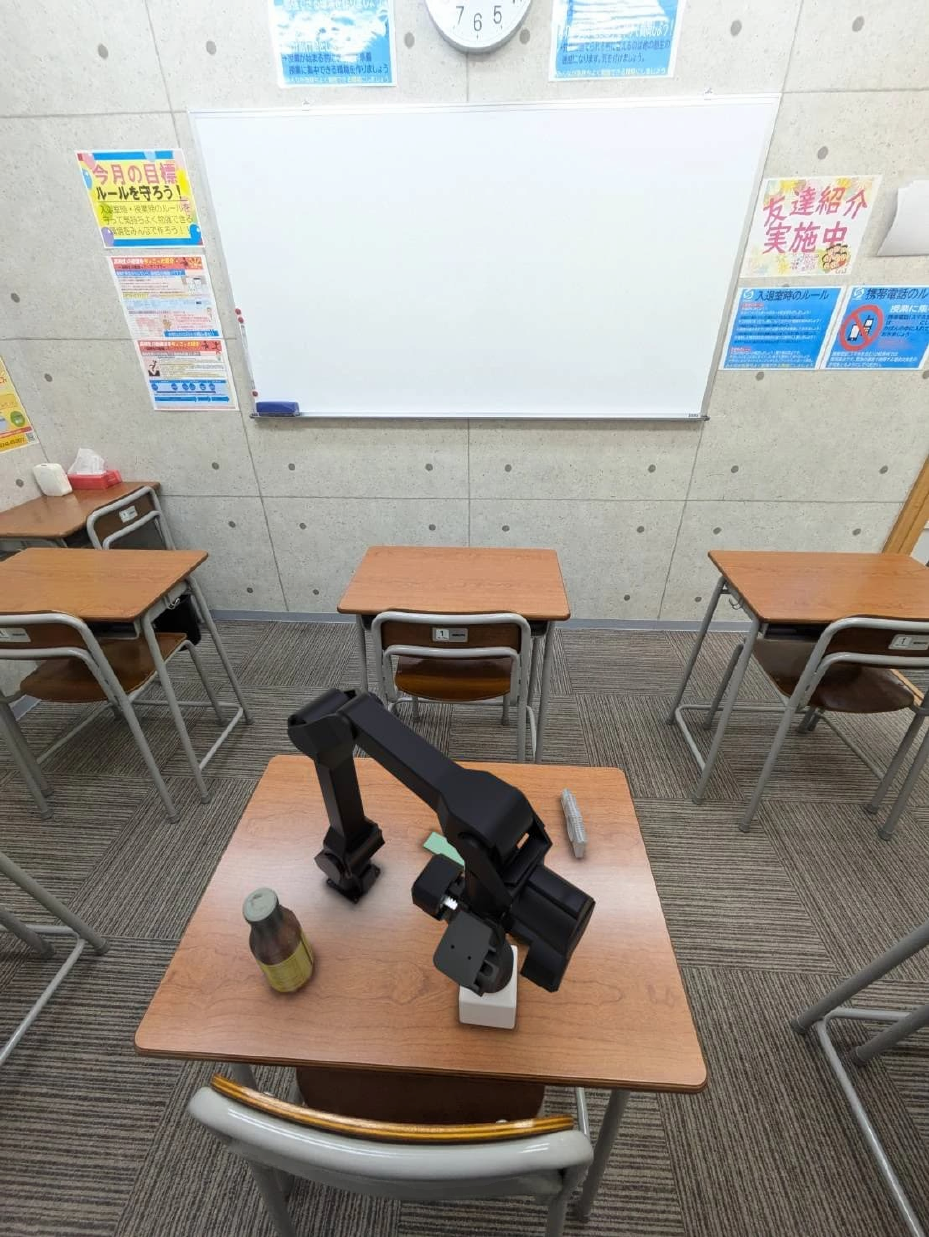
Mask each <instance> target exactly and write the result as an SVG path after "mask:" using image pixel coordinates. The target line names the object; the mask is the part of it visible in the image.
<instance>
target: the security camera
mask: <svg viewBox="0 0 929 1237" xmlns="http://www.w3.org/2000/svg"><path fill="white" fill-rule="evenodd" d="M500 959H501V960H503V961H504V962H506V968H505V971H504V973H503V975H502V978H501V980H500V982H499V985H498V987H497V989H496V991H495V993H493V994H492V993H491V992H489V991H488V990H486V991H485V992H484V994H483V996H482V997H480V996H479V995H477V994H475V993H474V992H472V991H471V990H470V989H467V988H464V987H462V986H460V985H459V994H458V1007H459V1008H458V1009H459V1011H458V1012H459V1022H460V1023H461V1024H468V1025H469V1024H470V1025H478V1026H486V1027H493V1028H502V1029H510V1030H513V1029H514V1028H515V1023H516V1022H515V1021H516V1013H517V1012H516V1011H517V991H518V990H517V988H518V987H517V986H518V947H517V946H516V945H512V944H511V943H510V942H509V940H508V939H507V938H506V941H505V943H504V945H503V947H502V953H501V955H500Z"/></svg>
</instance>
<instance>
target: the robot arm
mask: <svg viewBox="0 0 929 1237" xmlns="http://www.w3.org/2000/svg"><path fill="white" fill-rule="evenodd" d="M286 724H287V730H286V734H287V736H288V739H289V740H290V742H291V743H292V745H293V747H295V748H296V749H297V750H298V751H299V752H301V753H302V754H303V755H305V756H306V757H308V758H309V759H310V760H312V761H313V766H314V769H315V772H316V776H317V781H318V784H319V787H320V792H321V795H322V799H323V803H324V807H325V811H326V816H327V819H328V822H329V827H328V829H327V831H326V833H325V836H324V837H323V840H322V847H323V848H322V849H321V851H319V852H318V853H317V855H315V856H314V857H313V860H314V862H315V863H316V866H317V867H318V869H319V870H320V871H321V872H322V873H323V874H325V875H326V877H328V878H327V879H326V880H325V884H326V886H327V887H329V888H330V889H332V891H333V890H334V892H336V893H337V894H339V895H340V896H342V897H343V898H345V899H346V900H348V901H349V902H350V903H352V904H354V905H355V904H357V903H359V901H360V900H361V899H362V898H363V896H364V895H365V894H367V893H368V891H370V889H371V888H372V886H373V885H374V883H375V882H376V881H377V878H378V876H379V875H380V874H381V872H382V870H381V868H380V867H379V866H377V865H375V864H374V863H372V859H371V858H372V857H374V856H375V854H376V853H377V852H379V850H380V849H382V847H383V846H384V845H385V844H386V842H385V840H384V836H383V830H382V829H381V828H380V827H379V824H378V823H377V822H374V820H372V819H370V818H369V817H367V816H366V815H365V810H364V805H363V800H362V795H361V789H360V784H359V780H358V775H357V768H356V765H355V758H354V754H353V751H354V749H355V747H356V746H357V747H358V748H360V749H361V750H362V751H363V752H364V753H366V754H367V756H369V757H370V758H371V759H372V760H374V761H375V762H376V763H377V764H378V765H380V766H381V767H382V768H383V769H385V770H386V771H387V772H388V773H389V774H391V776H393V777H394V778H395V779H396V780H398V781H399V782H400V783H401V784H402V785H403V786H405V787H406V788H407V789H408V790H409V791H410V792H412V793H413V794H414V795H415V796H416V797H418V798H419V799H420V800H421V801H423V802H424V803H425V804H426V805H427V806H428V807H429V808H430V809H431V810H432V811H433V812H434V813H435V814H436V817H437V820H438V822H439V826H440V830H441V832H442V836H443V837H444V838H446V841H447V843H448V844H450V845H451V846H452V847H454V848H455V849H456V851H457V853H458V854H459V855H460V857H461V858H462V859H463V860H464V866H465V871H464V866H463V865H461V864H460V863H458V862H456V861H454V860H453V859H451V858H449V857H448V856H446V855H444V854H442V853H440V854H435V855H432V856H431V858H430V859H429V860H428V862H427V863H426V865H425V866H424V868H423V869H422V870H421V872H420V873H419V875H418V876H417V877H416V879H415V880H414V882H413V883H412V886H411V889H410V893H411V900H412V904H413V905H414V906H416V907H417V908H419V909H421V911H422V912H423V913H426V915H428V916H430V917H431V918H433V919H434V920H436V921H438V922H441V921H445V923H446V924H447V926H446V929H445V930H444V933H443V935H442V936H441V938H440V941H439V943H438V945H437V946H436V949H435V951H434V953H433V956H432V964H433V966H434V968H435V969H436V970H437V971H439V972H440V973H442V974H443V975H444V976H446V977H447V978H448V979H450V980H451V981H453V982H455V983H456V984H458V985H459V987H460V986H462V987H464V988H467V989H470V990H471V991H472V992H474V993H475V994H477V995H479V996H480V997H482V996H483V994H484V992H485V991H486V990H488V991H489V992H491V993H492V994H493V993H495V991H496V989H497V987H498V985H499V982H500V980H501V978H502V975H503V973H504V971H505V968H506V962H504V961H503V960H501V959H500V955H501V953H502V947H503V945H504V943H505V941H506V939H507V935H509V936H511V937H512V938H513V939H517V940H519V941H520V942H522V943H523V944H522V945H525V946H527V947H528V950H527V952H526V954H525V958H524V960H523V963H522V966H521V968H520V970H519V973H518V974H519V976H520V977H522V978H524V979H527V980H528V981H529V982H531V983H532V984H534V985H536V986H537V987H539V988H542V989H544V990H545V991H546V992H548V993H550V994H552V993H556V992H558V991H559V989H560V986H561V984H562V982H563V979H564V977H565V974H566V973H567V972H566V971H567V969H568V966H569V964H570V962H571V959H572V956H573V954H574V952H575V950H576V949H577V947H578V946H579V944H580V942H581V940H582V938H583V935H584V934H585V932H586V930H587V928H588V925H589V923H590V920H591V918H592V916H593V913H594V911H595V907H596V905H597V901H595V898H594V897H592V895H590V894H588V893H586V892H585V891H584V890H582V889H580V888H579V887H578V886H576V885H574V883H572V882H570V881H569V880H568V879H565V878H564V877H563V876H561V875H560V874H558V873H557V872H555V871H554V870H552V869H551V868H549V867H548V866H546V865H545V859H546V855H547V854H548V853H549V851H550V850H551V848H552V847H553V845H554V843H553V841H552V839H551V837H550V836H549V834H548V832H547V830H546V829H545V827H546V825H545V823H544V822H543V821H542V819H541V818H540V816H539V815H538V814H537V812H536V811H535V809H534V807H533V806H532V804H531V803H530V801H529V799H528V798H527V796H526V795H525V793H524V792H522V790H521V789H519V788H518V787H517V786H515V785H512V784H510V783H508V782H507V781H505V780H503V779H502V778H500V777H498V776H497V775H496V774H493V773H492V772H490V771H488V770H483V769H475V768H474V769H473V768H465V767H463V766H462V765H460V764H459V763H457V762H456V761H454V760H453V759H452V758H450V757H449V756H448V755H447V754H446V753H444V752H443V751H441V750H440V749H439V748H437V747H436V746H435V745H434V744H433V743H431V742H430V741H428V739H426V738H425V737H423V736H422V735H420V733H418V732H417V731H416V730H415V729H413V728H412V727H411V726H409V725H408V724H407V723H405V722H404V721H402V720H401V719H400V718H399V717H398V716H396V715H395V714H394V713H393V712H391V711H390V710H388V709H387V708H386V707H385V704H384V702H383V701H382V699H381V698H380V697H379V696H378V695H377V694H376V693H374V692H373V691H368V690H367V691H361V688H360V687H358V686H357V687H352V688H346V689H343V690H341V689H340V688H337V687H330V688H328V689H327V690H326V691H324V692H322V694H319V696H317V697H315V698H314V699H312V700H311V701H309V702H308V703H307V704H306V705H304V706H302V707H301V708H299V709H298V710H297V711H295V712H294V713H292V714H291V715H290V716H288V717H287V720H286ZM526 834H527V838H526V839H525V840H524V841H523V843H522V844H521V846H520V847H519V846H518V845H519V844H520V842H521V841H522V839H524V837H525V836H526ZM463 874H464V876H463ZM517 940H516V941H517Z"/></svg>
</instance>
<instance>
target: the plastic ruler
mask: <svg viewBox="0 0 929 1237" xmlns="http://www.w3.org/2000/svg"><path fill="white" fill-rule="evenodd" d="M423 848H425V849H426V850H428V851H430V852H431V853H433V854H435V855H437V854H440V853H442V854H444V855H446V856H448V857H449V858H451V859H453V860H454V861H456V862H458V863H460V864H461V865H463V866H464V860H463V859H462V858H461V857H460V855H459V854H458V853H457V851H456V849H455V848H454V847H452V846H451V845H450V844H448V843H447V841H446V838H445V837H444V836H443V835H441V834H439V833H437V832H435V831H433V832H432V833H431V834H430V836H429V837H428V838H427V839H426V841H425V842H424V844H423ZM464 872H465V866H464Z"/></svg>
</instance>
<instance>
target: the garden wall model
mask: <svg viewBox="0 0 929 1237" xmlns="http://www.w3.org/2000/svg"><path fill="white" fill-rule="evenodd" d="M560 795H561V796H560V802H561V806H562V809H563V813H564V816H565V820H566V830H567V834H568V835H567V836H568V838H569V840H570V843H571V844H572V848H573V851H574V856H575V858H576V859H579V858H583V856H584V852H585V848H586V844H588V843H589V839H588V835H587V833H586V828H585V823H584V819H583V816H582V814H581V811H580V810H581V808H580V807H579V805H578V801H577V797H576V795H575V794H572V790H571V789H567V788H564V789H562V790H561V794H560Z"/></svg>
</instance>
